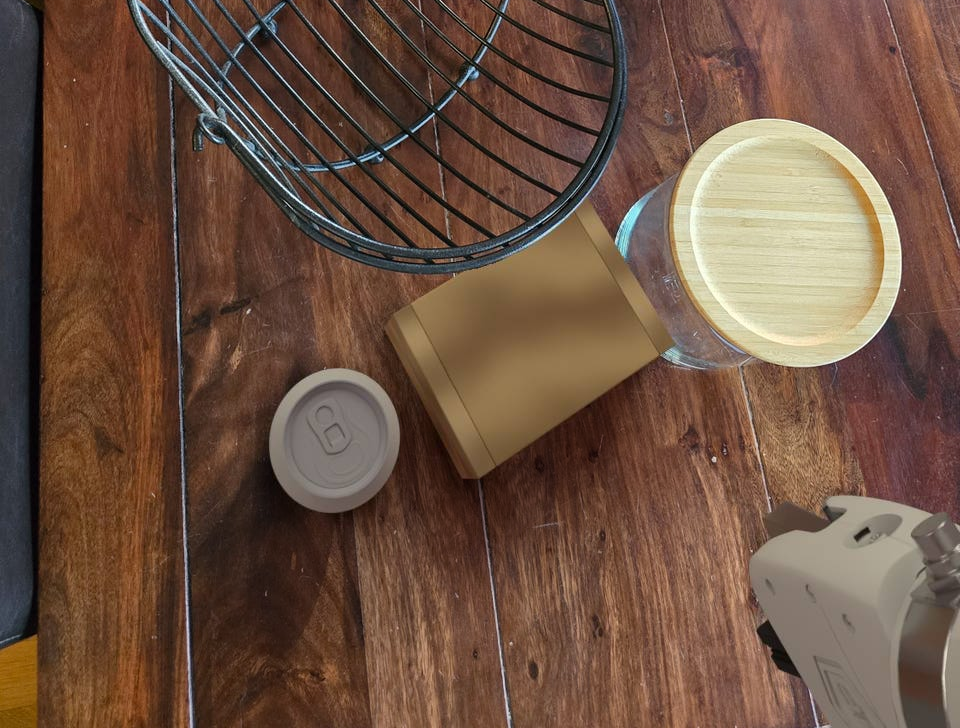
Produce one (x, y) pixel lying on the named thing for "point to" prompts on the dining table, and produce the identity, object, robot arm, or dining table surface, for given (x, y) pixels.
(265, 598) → the dining table surface
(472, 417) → the gold flanged block
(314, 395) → the beverage can
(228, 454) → the dining table surface
